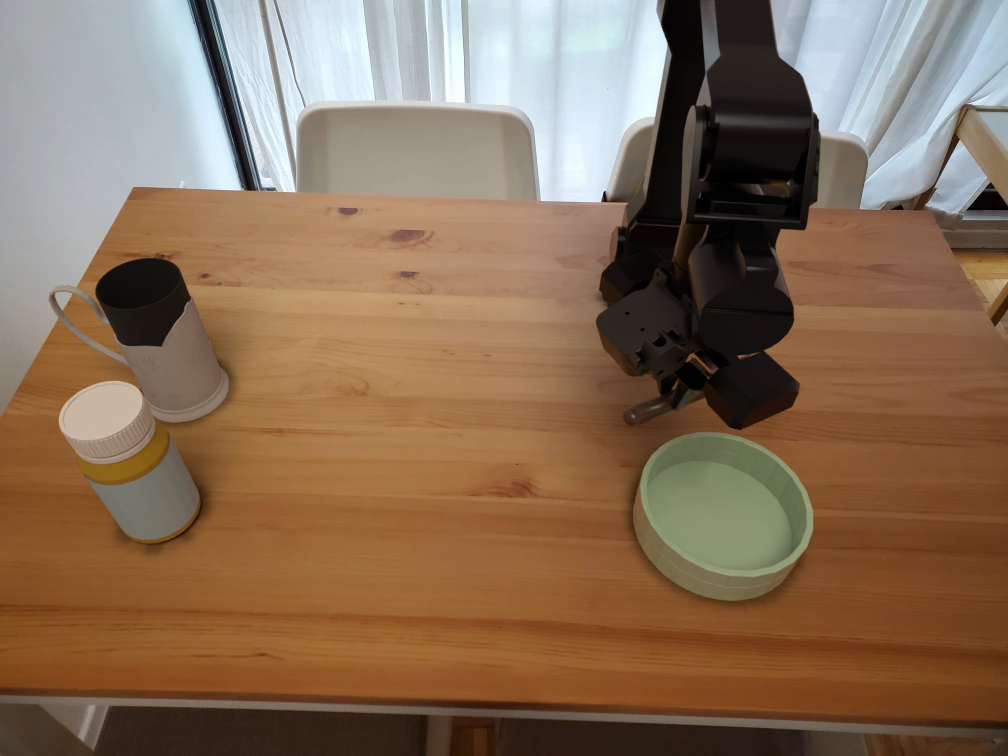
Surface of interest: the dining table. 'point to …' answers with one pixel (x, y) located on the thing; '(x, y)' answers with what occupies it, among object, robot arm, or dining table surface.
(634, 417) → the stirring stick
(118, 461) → the bottle
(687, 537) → the bowl
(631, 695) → the dining table surface
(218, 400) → the glass holder
